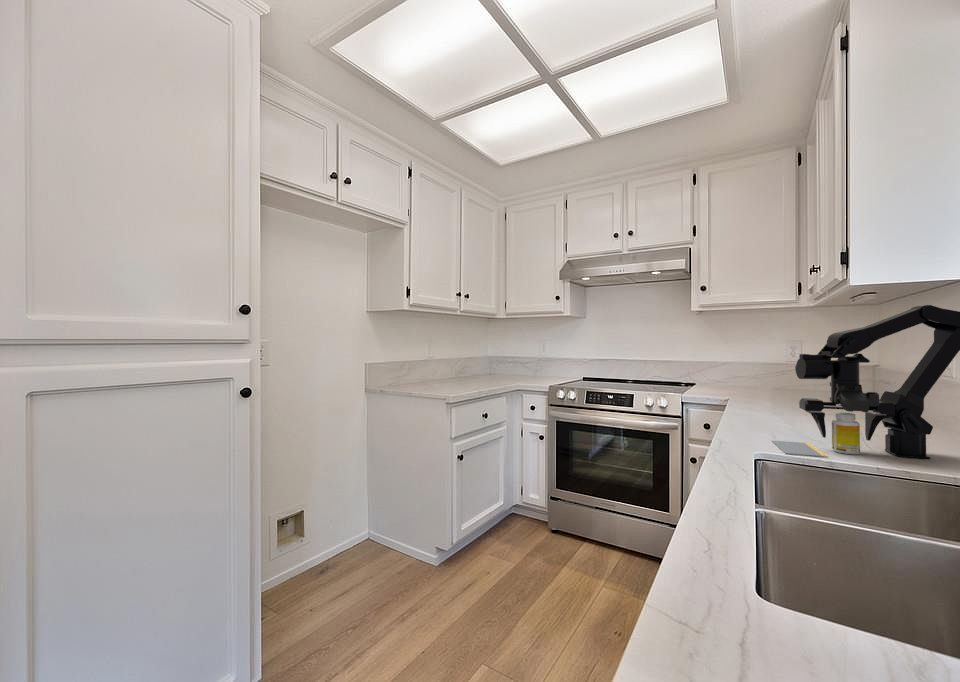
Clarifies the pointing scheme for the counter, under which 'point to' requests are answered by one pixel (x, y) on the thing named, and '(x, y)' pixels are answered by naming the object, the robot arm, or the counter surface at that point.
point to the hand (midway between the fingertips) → (845, 438)
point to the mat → (799, 449)
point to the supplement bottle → (845, 434)
